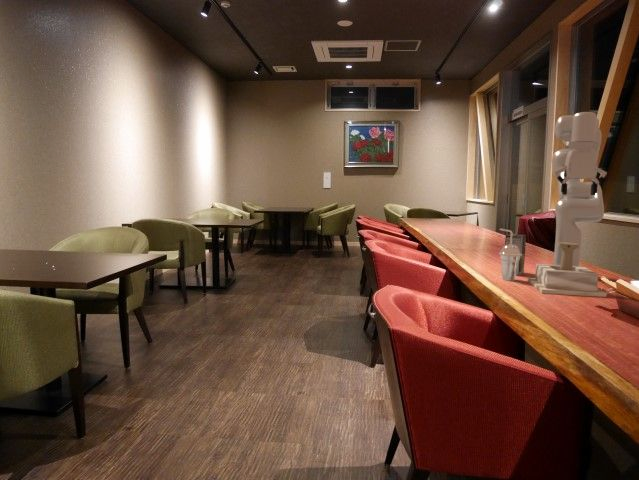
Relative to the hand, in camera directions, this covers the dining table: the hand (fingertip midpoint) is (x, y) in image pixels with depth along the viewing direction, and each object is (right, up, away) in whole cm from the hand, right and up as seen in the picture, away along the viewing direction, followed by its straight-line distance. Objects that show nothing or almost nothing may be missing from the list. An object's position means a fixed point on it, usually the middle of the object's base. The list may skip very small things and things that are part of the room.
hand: (578, 194), depth 178 cm
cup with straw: (-22, -32, +11) cm, 40 cm away
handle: (-7, -33, -4) cm, 34 cm away
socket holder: (-7, -34, -4) cm, 35 cm away
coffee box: (-14, -31, +26) cm, 42 cm away
